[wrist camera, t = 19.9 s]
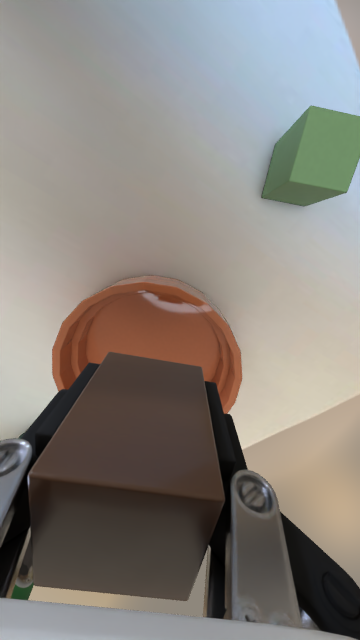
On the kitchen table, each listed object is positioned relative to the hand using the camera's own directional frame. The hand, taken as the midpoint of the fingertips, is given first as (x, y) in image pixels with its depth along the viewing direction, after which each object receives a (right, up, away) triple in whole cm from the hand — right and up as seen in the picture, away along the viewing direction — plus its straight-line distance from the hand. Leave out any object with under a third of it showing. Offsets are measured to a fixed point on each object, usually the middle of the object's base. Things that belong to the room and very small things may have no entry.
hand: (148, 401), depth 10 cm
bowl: (-2, 0, +15) cm, 15 cm away
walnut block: (0, 0, 0) cm, 0 cm away
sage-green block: (+11, +17, +10) cm, 22 cm away
